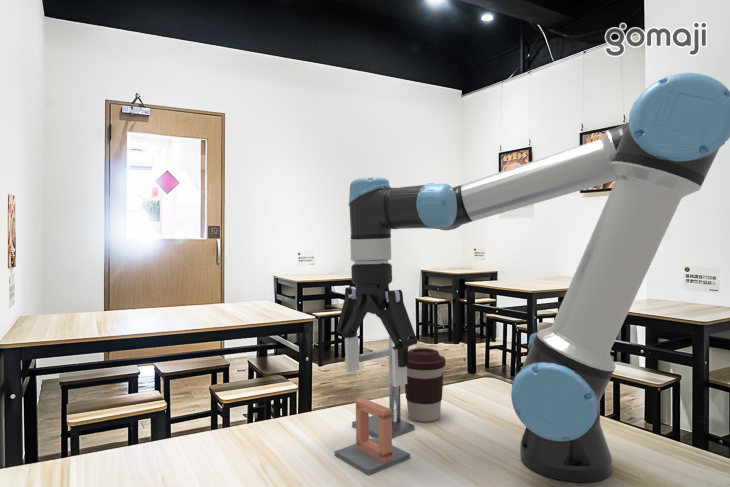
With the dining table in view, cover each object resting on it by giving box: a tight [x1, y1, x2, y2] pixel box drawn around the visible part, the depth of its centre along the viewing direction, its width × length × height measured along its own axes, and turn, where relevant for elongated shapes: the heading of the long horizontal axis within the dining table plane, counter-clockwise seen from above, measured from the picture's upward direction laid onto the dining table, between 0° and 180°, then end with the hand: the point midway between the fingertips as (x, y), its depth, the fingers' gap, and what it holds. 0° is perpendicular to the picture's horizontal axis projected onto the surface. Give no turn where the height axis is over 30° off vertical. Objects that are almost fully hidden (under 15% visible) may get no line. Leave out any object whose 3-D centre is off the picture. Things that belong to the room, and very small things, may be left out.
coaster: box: [334, 437, 411, 476], centre depth 89 cm, size 10×10×1 cm
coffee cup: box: [404, 347, 446, 423], centre depth 109 cm, size 10×10×15 cm
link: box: [355, 397, 393, 462], centre depth 88 cm, size 8×2×9 cm, turn 39°
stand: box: [344, 336, 415, 439], centre depth 101 cm, size 10×14×19 cm
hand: (374, 377), depth 88 cm, fingers open, 13 cm apart
